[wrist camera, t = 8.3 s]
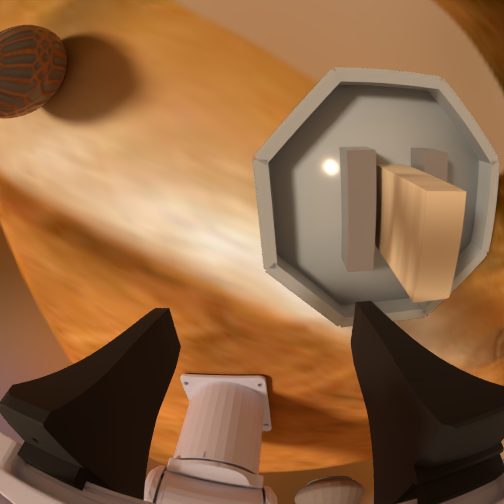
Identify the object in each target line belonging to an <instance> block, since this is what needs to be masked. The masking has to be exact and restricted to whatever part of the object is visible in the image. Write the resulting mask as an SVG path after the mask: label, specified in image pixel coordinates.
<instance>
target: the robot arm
mask: <svg viewBox="0 0 504 504" xmlns="http://www.w3.org/2000/svg"><path fill="white" fill-rule="evenodd" d="M180 348H181V346H180V343H179V340H178V336H177V333H176V330H175V326H174V323H173V320H172V316H171V313H170V309H169V308H155V309H153V310H152V311H150V312H149V313H148V314H146V315H145V316H144V317H142V318H141V319H140V320H139V321H137V322H136V323H135V324H133V325H132V326H131V327H130V328H128V329H127V330H126V331H124V332H123V333H122V334H120V335H119V336H118V337H116V338H115V339H113V340H112V341H111V342H109V343H108V344H106V345H105V346H104V347H102V348H101V349H99V350H98V351H96V352H94V353H93V354H91V355H90V356H88V357H86V358H84V359H83V360H81V361H79V362H77V363H75V364H73V365H71V366H68V367H67V368H64V369H62V370H60V371H58V372H55V373H53V374H50V375H47V376H44V377H41V378H38V379H35V380H31V381H27V382H23V383H19V384H15V385H12V386H11V388H10V389H9V391H8V392H7V393H6V394H5V396H4V397H3V398H2V400H1V401H0V413H1V415H2V416H3V417H4V419H5V420H6V421H7V422H8V423H9V425H10V426H11V427H12V428H13V429H14V430H15V431H16V432H17V433H18V434H19V435H20V436H21V438H22V439H23V440H24V441H25V442H24V444H23V445H20V444H19V443H18V442H16V441H15V440H13V439H11V438H10V437H8V436H7V435H5V434H3V433H0V493H1V494H2V495H3V496H5V497H6V498H7V499H9V500H10V501H11V502H12V503H14V504H278V503H277V498H276V495H275V494H274V493H273V492H272V490H271V488H270V487H268V486H263V476H259V475H258V474H259V463H260V452H261V441H262V431H270V430H271V429H272V425H271V417H270V409H269V401H268V393H267V384H266V378H265V377H264V376H230V375H198V374H182V375H181V377H180V380H181V382H182V384H183V387H184V389H185V392H186V394H187V397H188V399H189V401H190V403H189V406H188V410H187V413H186V417H185V420H184V423H183V427H182V430H181V433H180V437H179V440H178V444H177V447H176V451H175V454H174V457H173V458H170V459H169V462H168V465H167V467H165V466H162V465H160V466H158V467H157V468H154V469H152V470H151V471H150V472H149V474H148V476H147V478H146V481H145V477H146V468H147V462H148V456H149V450H150V445H151V440H152V435H153V431H154V427H155V423H156V419H157V416H158V413H159V410H160V407H161V404H162V402H163V399H164V397H165V394H166V392H167V389H168V387H169V384H170V382H171V379H172V376H173V374H174V371H175V368H176V365H177V361H178V357H179V352H180ZM351 348H352V355H353V361H354V366H355V370H356V373H357V377H358V380H359V384H360V387H361V391H362V394H363V398H364V402H365V405H366V409H367V414H368V418H369V425H370V433H371V441H372V452H373V467H374V504H504V459H503V460H502V458H501V456H500V453H501V452H503V449H504V448H503V446H502V443H501V441H502V440H503V439H504V386H501V385H498V384H495V383H492V382H488V381H486V380H483V379H481V378H478V377H476V376H473V375H471V374H469V373H467V372H465V371H462V370H460V369H459V368H457V367H455V366H453V365H451V364H449V363H447V362H446V361H444V360H442V359H441V358H439V357H438V356H436V355H435V354H433V353H432V352H430V351H429V350H427V349H426V348H424V347H423V346H422V345H420V344H419V343H418V342H417V341H415V340H414V339H413V338H411V337H410V336H409V335H408V334H407V333H405V332H404V331H403V330H402V329H401V328H400V327H399V326H397V325H396V324H395V323H394V322H393V321H392V320H391V319H390V318H389V317H388V316H387V315H386V314H385V313H383V312H382V311H381V310H380V309H379V308H378V307H377V306H376V305H375V304H374V303H373V302H372V301H360V302H355V312H354V320H353V329H352V336H351Z"/></svg>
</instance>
